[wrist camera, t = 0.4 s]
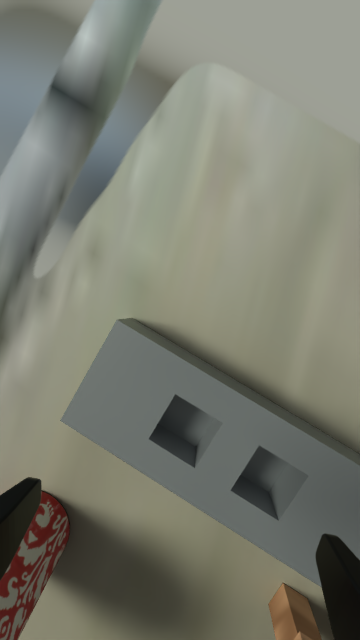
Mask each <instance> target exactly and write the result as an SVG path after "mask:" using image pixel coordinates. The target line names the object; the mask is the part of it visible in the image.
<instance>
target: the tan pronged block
mask: <svg viewBox="0 0 360 640" xmlns="http://www.w3.org/2000/svg"><path fill="white" fill-rule="evenodd" d="M269 609H270V613H271V618H272V622H273V627H274V632H275V636H276V640H322V639H321V636H320V633H319V630H318V627H317V625H316V622H315V619H314V616H313V613H312V610H311V608H310V605H309V602H308V599H307V598H306V597H304V596H303V595H301V594H299V593H298V592H296V591H295V590H293V589H292V588H290V587H289V586H287V585H285V584H284V583H283V584H282V585H281V587H280V588H279V590H278V591H277V592H276V594H275V595H274V597H273V598H272V600H271V601H270V603H269Z"/></svg>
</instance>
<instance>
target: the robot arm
mask: <svg viewBox="0 0 360 640" xmlns="http://www.w3.org/2000/svg"><path fill="white" fill-rule="evenodd" d="M40 502H41V480H40V479H37V478H32V477H28V478H26V479H24V480H23V481H21V482H20V483H18V484H17V485H15V486H14V487H12V488H11V489H9V490H8V491H6V492H5V493H3V494H2V495H0V581H1V579H2V577H3V576H4V574H5V572H6V571H7V569H8V567H9V565H10V564H11V562H12V560H13V558H14V556H15V554H16V552H17V550H18V548H19V546H20V544H21V542H22V540H23V538H24V536H25V534H26V532H27V530H28V528H29V526H30V524H31V522H32V520H33V518H34V516H35V514H36V512H37V510H38V508H39V505H40ZM315 558H316V564H317V568H318V573H319V577H320V582H321V586H322V590H323V595H324V599H325V603H326V608H327V612H328V616H329V621H330V625H331V629H332V632H333V636H334V639H335V640H360V560H359V559H358V558H357V557H356V555H355V554H354V553H353V552H352V551H351V550H350V549H349V548H348V546H347V545H346V544H345V543H344V542H343V541H342V540H341V539H340V538H339V537H338V536H336V535H332V534H327V533H324V534H323V535H322V536H321V539H320V542H319V544H318V547H317V550H316V555H315Z"/></svg>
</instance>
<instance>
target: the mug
mask: <svg viewBox="0 0 360 640" xmlns="http://www.w3.org/2000/svg"><path fill="white" fill-rule="evenodd" d="M69 529H70V527H69V520H68V517H67V514H66V512H65V510H64V508H63V507H62V506H61V504H60V503H59V502H58V501H57V500H56V499H55V498H54V497H52V496H51V495H49V494H47V493H45V492H42V491H41V502H40V505H39V508H38V510H37V512H36V514H35V516H34V518H33V520H32V522H31V524H30V526H29V528H28V530H27V532H26V534H25V536H24V538H23V540H22V542H21V544H20V546H19V548H18V550H17V552H16V554H15V556H14V558H13V560H12V562H11V564H10V565H9V567H8V569H7V571H6V572H5V574H4V576H3V577H2V579H1V581H0V640H18V638H19V636H20V634H21V632H22V631H23V629H24V627H25V625H26V623H27V621H28V619H29V617H30V615H31V613H32V611H33V609H34V607H35V605H36V603H37V601H38V600H39V597H40V595H41V593H42V591H43V590H44V587H45V585H46V583H47V581H48V579H49V577H50V575H51V574H52V572H53V570H54V568H55V566H56V564H57V563H58V560H59V558H60V556H61V554H62V552H63V550H64V548H65V546H66V544H67V541H68V538H69Z"/></svg>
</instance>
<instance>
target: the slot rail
mask: <svg viewBox="0 0 360 640" xmlns="http://www.w3.org/2000/svg"><path fill="white" fill-rule="evenodd" d="M60 421H62V422H63V423H65V424H66V425H68V426H69V427H71V428H73V429H74V430H76V431H77V432H79V433H80V434H82V435H83V436H85V437H87V438H88V439H90V440H91V441H93V442H94V443H96V444H98V445H99V446H101V447H102V448H104V449H105V450H107V451H109V452H110V453H112V454H113V455H115V456H116V457H118V458H120V459H121V460H123V461H124V462H126V463H127V464H129V465H131V466H132V467H134V468H135V469H137V470H138V471H140V472H142V473H143V474H145V475H146V476H148V477H149V478H151V479H152V480H154V481H156V482H157V483H159V484H160V485H162V486H163V487H165V488H167V489H168V490H170V491H171V492H173V493H174V494H176V495H178V496H179V497H181V498H182V499H184V500H185V501H187V502H189V503H190V504H192V505H193V506H195V507H196V508H198V509H200V510H201V511H203V512H204V513H206V514H207V515H209V516H210V517H212V518H214V519H215V520H217V521H218V522H220V523H221V524H223V525H225V526H226V527H228V528H229V529H231V530H232V531H234V532H236V533H237V534H239V535H240V536H242V537H243V538H245V539H247V540H248V541H250V542H251V543H253V544H254V545H256V546H258V547H259V548H261V549H262V550H264V551H265V552H267V553H268V554H270V555H272V556H273V557H275V558H276V559H278V560H279V561H281V562H283V563H284V564H286V565H287V566H289V567H290V568H292V569H294V570H295V571H297V572H298V573H300V574H301V575H303V576H305V577H306V578H308V579H309V580H311V581H312V582H314V583H316V584H317V585H319V586H320V587H322V586H321V582H320V577H319V573H318V568H317V564H316V558H315V555H316V550H317V547H318V544H319V542H320V539H321V536H322V535H323V534H324V533H327V534H332V535H336V536H338V537H339V538H340V539H341V540H342V541H343V542H344V543H345V544H346V545H347V546H348V548H349V549H350V550H351V551H352V552H353V553H354V554H355V555H356V557H357V558H358V559H359V560H360V454H358V453H357V452H355V451H353V450H352V449H350V448H348V447H347V446H345V445H343V444H342V443H340V442H338V441H337V440H335V439H333V438H332V437H330V436H328V435H327V434H325V433H323V432H322V431H320V430H318V429H317V428H315V427H313V426H312V425H310V424H308V423H307V422H305V421H303V420H302V419H300V418H298V417H297V416H295V415H293V414H292V413H290V412H288V411H287V410H285V409H283V408H281V407H280V406H278V405H276V404H275V403H273V402H271V401H270V400H268V399H266V398H265V397H263V396H261V395H260V394H258V393H256V392H255V391H253V390H251V389H250V388H248V387H246V386H245V385H243V384H241V383H240V382H238V381H236V380H235V379H233V378H231V377H230V376H228V375H226V374H225V373H223V372H221V371H220V370H218V369H216V368H215V367H213V366H211V365H210V364H208V363H206V362H205V361H203V360H201V359H200V358H198V357H196V356H195V355H193V354H191V353H190V352H188V351H186V350H184V349H183V348H181V347H179V346H178V345H176V344H174V343H173V342H171V341H169V340H168V339H166V338H164V337H163V336H161V335H159V334H158V333H156V332H154V331H153V330H151V329H149V328H148V327H146V326H144V325H143V324H141V323H139V322H138V321H136V320H134V319H133V318H127V319H119V320H116V322H115V324H114V326H113V328H112V329H111V331H110V333H109V335H108V336H107V338H106V340H105V342H104V344H103V345H102V347H101V349H100V351H99V352H98V354H97V356H96V358H95V360H94V361H93V363H92V365H91V367H90V369H89V370H88V372H87V374H86V376H85V377H84V379H83V381H82V383H81V385H80V386H79V388H78V390H77V392H76V393H75V395H74V397H73V399H72V401H71V402H70V404H69V406H68V408H67V409H66V411H65V413H64V415H63V417H62V418H61V420H60Z"/></svg>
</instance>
